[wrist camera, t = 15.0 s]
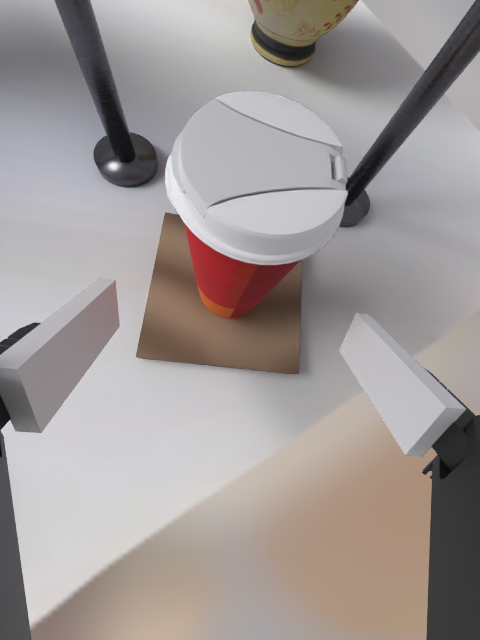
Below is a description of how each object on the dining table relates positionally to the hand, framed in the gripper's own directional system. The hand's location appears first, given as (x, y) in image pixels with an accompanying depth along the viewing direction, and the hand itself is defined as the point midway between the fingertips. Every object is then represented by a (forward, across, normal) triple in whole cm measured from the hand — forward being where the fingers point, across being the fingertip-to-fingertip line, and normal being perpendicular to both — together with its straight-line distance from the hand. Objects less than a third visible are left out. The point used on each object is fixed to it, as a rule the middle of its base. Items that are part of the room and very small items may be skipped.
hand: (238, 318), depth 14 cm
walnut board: (+10, 0, -3) cm, 11 cm away
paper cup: (+9, 0, -2) cm, 10 cm away
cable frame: (+19, 0, +6) cm, 20 cm away
